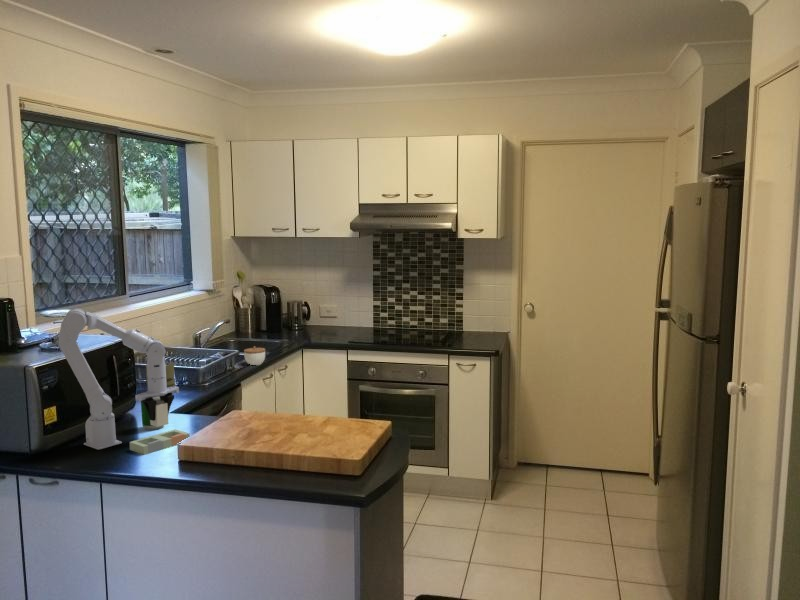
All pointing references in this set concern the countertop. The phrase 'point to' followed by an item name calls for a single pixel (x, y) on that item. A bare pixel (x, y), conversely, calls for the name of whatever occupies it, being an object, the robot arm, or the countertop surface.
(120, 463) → the countertop surface
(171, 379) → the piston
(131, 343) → the robot arm
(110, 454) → the countertop surface
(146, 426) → the soda can
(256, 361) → the lidded jar
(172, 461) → the countertop surface
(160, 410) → the plug
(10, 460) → the countertop surface
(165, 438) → the socket block
